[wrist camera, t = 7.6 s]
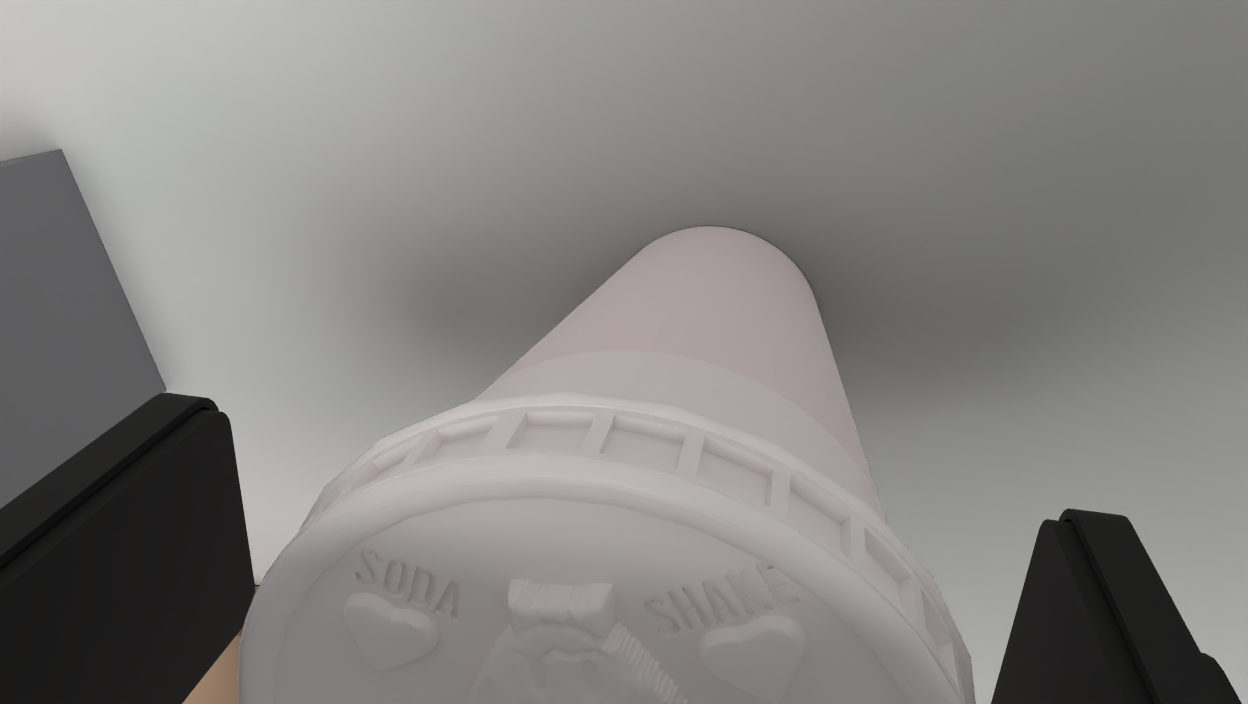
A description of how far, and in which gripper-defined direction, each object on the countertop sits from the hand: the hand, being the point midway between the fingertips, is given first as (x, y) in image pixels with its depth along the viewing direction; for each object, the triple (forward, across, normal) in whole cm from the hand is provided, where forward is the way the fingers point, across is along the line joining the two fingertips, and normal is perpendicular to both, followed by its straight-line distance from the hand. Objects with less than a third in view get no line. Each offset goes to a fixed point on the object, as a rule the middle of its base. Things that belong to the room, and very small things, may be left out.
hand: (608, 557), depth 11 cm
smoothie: (+7, -1, 0) cm, 7 cm away
